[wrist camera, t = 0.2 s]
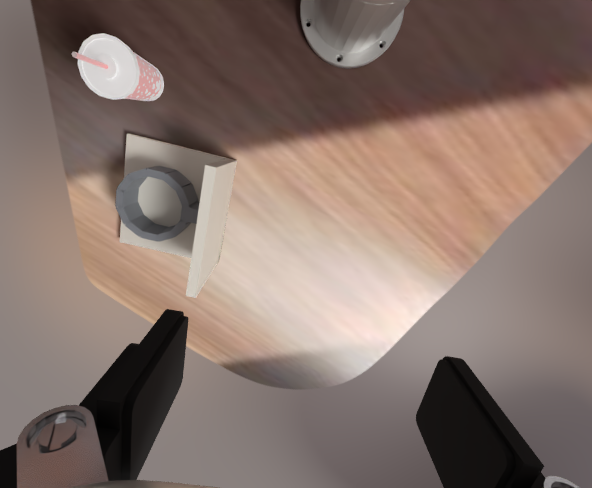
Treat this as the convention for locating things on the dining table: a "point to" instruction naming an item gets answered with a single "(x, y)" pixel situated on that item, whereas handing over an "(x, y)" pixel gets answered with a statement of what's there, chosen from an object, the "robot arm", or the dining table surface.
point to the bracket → (175, 203)
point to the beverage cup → (117, 70)
